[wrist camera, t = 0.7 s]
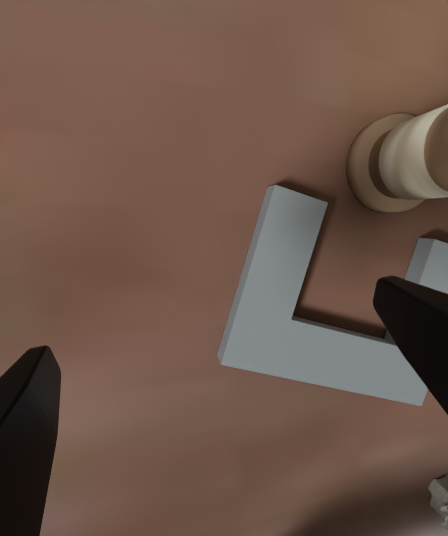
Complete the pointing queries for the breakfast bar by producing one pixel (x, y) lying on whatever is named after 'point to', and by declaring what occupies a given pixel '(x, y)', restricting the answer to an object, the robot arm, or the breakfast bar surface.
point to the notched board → (306, 331)
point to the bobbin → (400, 161)
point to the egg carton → (440, 497)
